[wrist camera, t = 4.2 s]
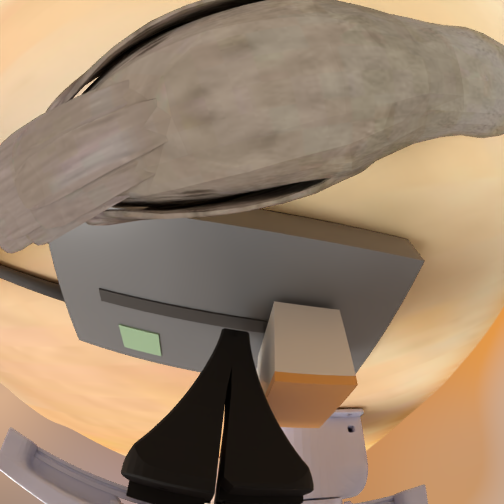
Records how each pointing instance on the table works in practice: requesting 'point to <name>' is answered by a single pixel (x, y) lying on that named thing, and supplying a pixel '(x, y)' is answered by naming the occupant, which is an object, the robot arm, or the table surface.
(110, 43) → the table surface
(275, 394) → the handle
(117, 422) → the table surface
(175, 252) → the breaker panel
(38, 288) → the twin grey rods
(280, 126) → the decorative bird
